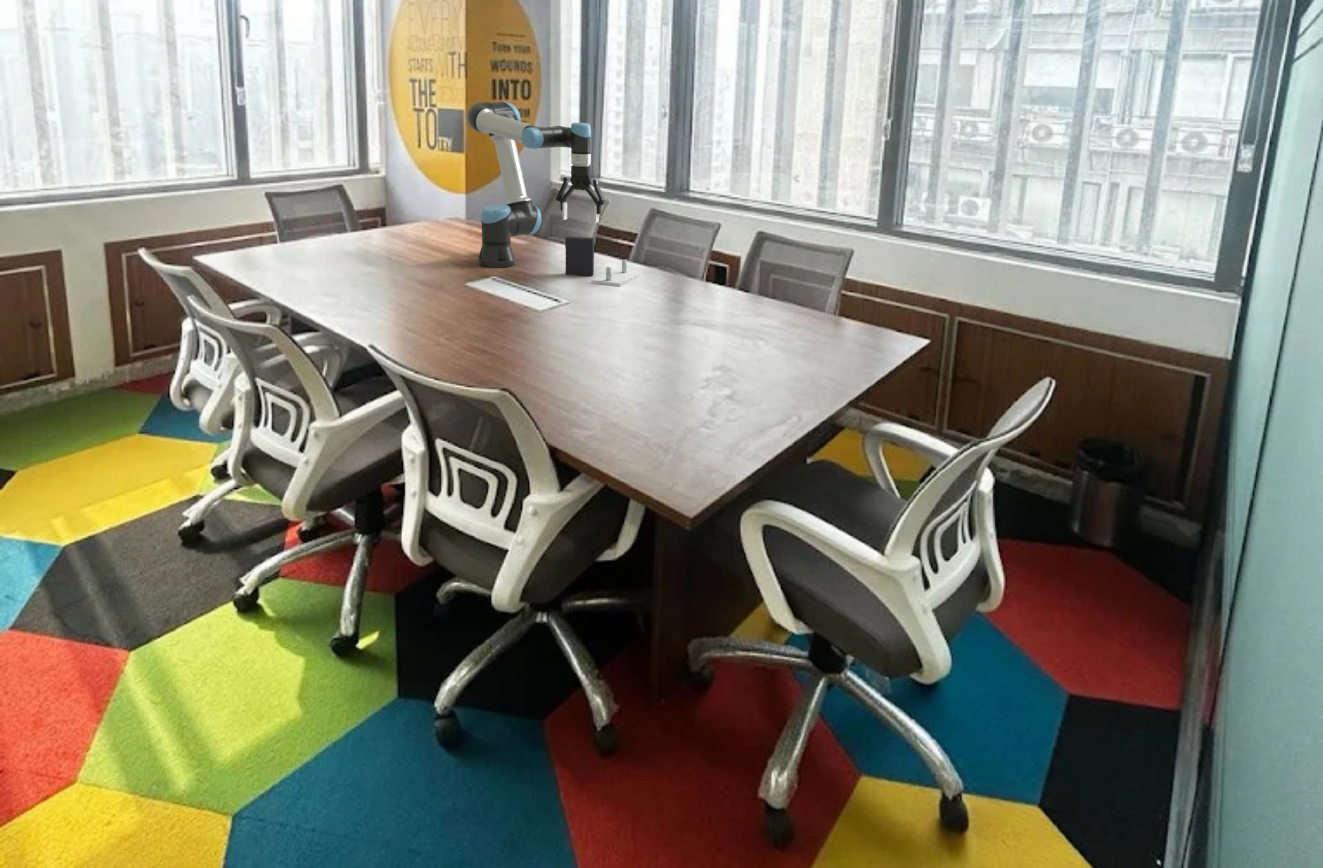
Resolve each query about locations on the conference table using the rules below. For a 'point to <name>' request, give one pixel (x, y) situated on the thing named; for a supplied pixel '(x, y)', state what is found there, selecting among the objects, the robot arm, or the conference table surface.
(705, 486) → the conference table surface
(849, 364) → the conference table surface
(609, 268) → the white peg stand
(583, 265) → the calculator
